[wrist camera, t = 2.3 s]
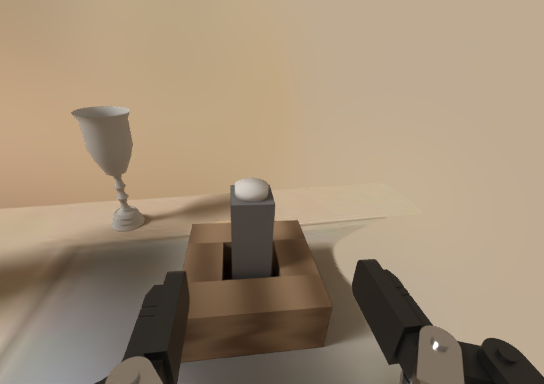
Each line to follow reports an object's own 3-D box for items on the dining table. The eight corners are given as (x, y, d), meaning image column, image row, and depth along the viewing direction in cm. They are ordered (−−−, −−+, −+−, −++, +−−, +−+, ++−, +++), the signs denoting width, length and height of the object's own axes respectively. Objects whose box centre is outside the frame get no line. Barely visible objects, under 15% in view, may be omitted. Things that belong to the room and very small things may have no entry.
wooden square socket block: (179, 362, 25) (171, 320, 22) (196, 259, 37) (192, 224, 34) (323, 346, 27) (332, 306, 24) (293, 254, 39) (297, 220, 36)
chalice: (153, 228, 43) (132, 115, 35) (105, 240, 40) (68, 118, 31) (147, 207, 48) (128, 105, 40) (104, 216, 45) (73, 107, 37)
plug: (233, 312, 30) (230, 195, 23) (232, 284, 33) (230, 176, 27) (268, 309, 31) (275, 194, 24) (264, 282, 34) (269, 176, 27)
